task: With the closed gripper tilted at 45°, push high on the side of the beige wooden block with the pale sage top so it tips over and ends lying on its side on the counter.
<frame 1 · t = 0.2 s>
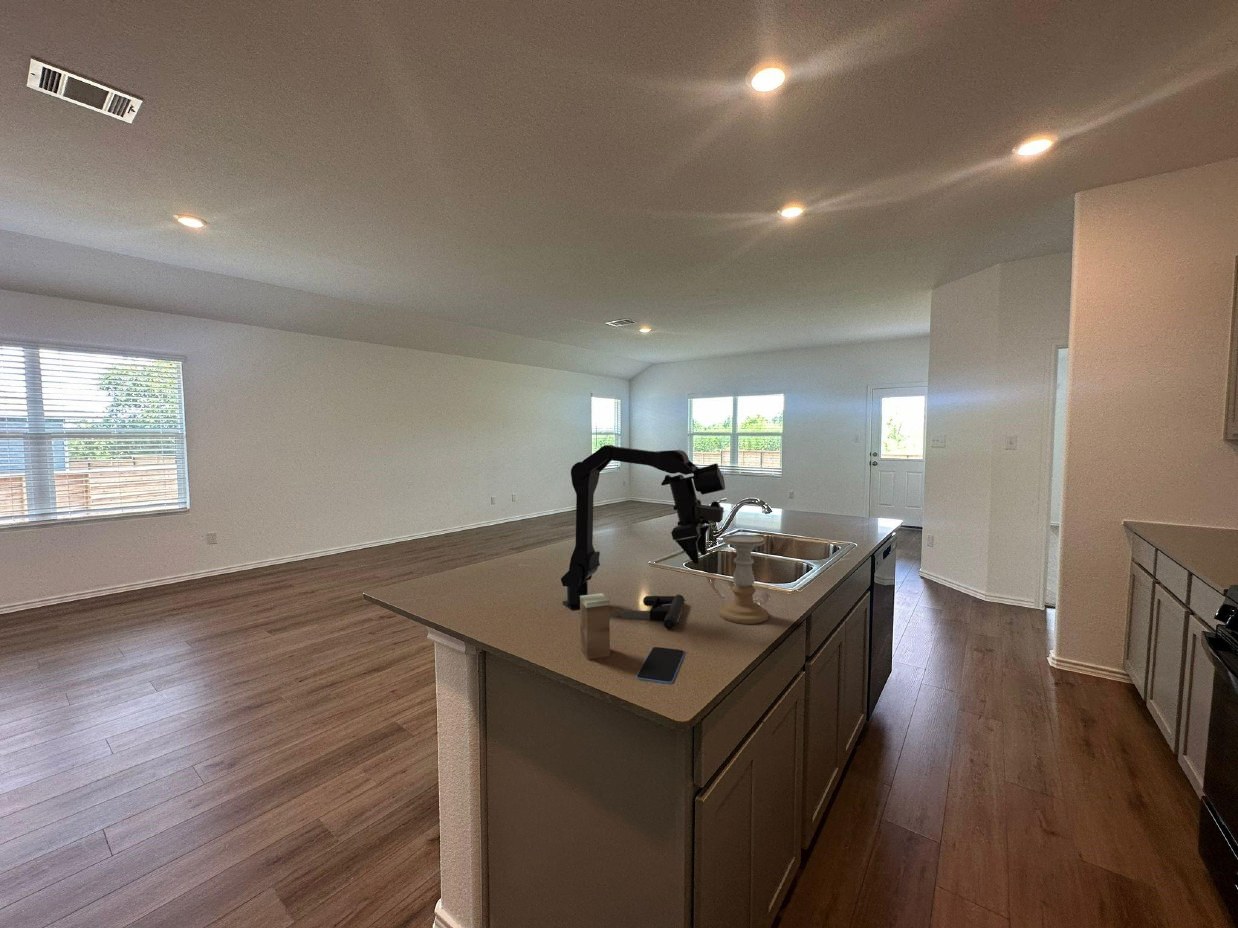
hand: (700, 559, 126), 15 cm above the worktop, tool pointing down, fingers open, 9 cm apart
smartphone: (661, 667, 102), on the worktop
candle holder: (743, 616, 129), on the worktop
beige wooden block: (595, 652, 108), on the worktop
door handle: (653, 616, 131), on the worktop
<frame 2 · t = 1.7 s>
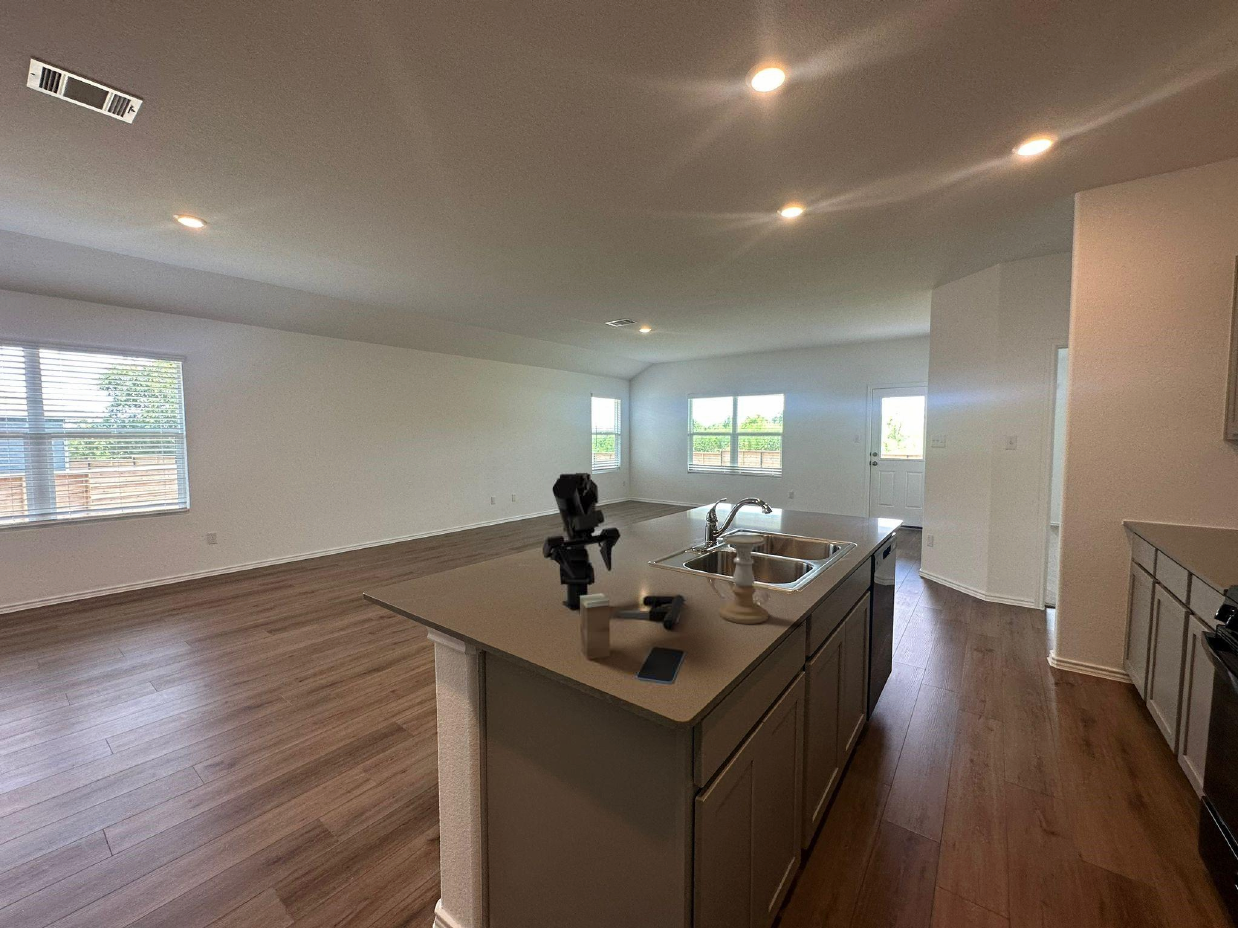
hand: (592, 573, 118), 14 cm above the worktop, tool tilted 40°, fingers open, 9 cm apart
nothing on the worktop moved.
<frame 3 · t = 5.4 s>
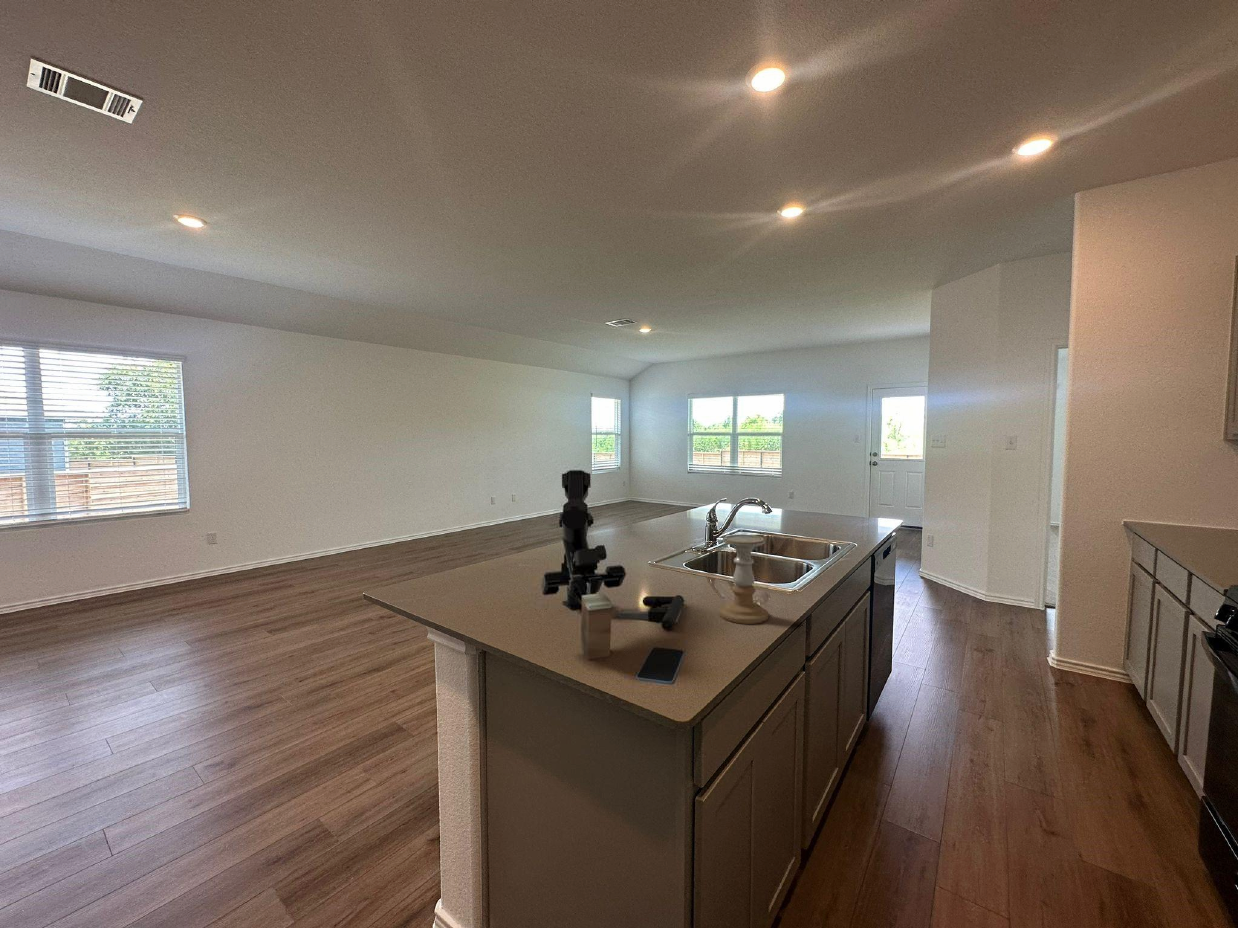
hand: (591, 613, 109), 8 cm above the worktop, tool tilted 45°, fingers closed
beige wooden block: (595, 651, 108), on the worktop, tilted 8°
everything else where it was.
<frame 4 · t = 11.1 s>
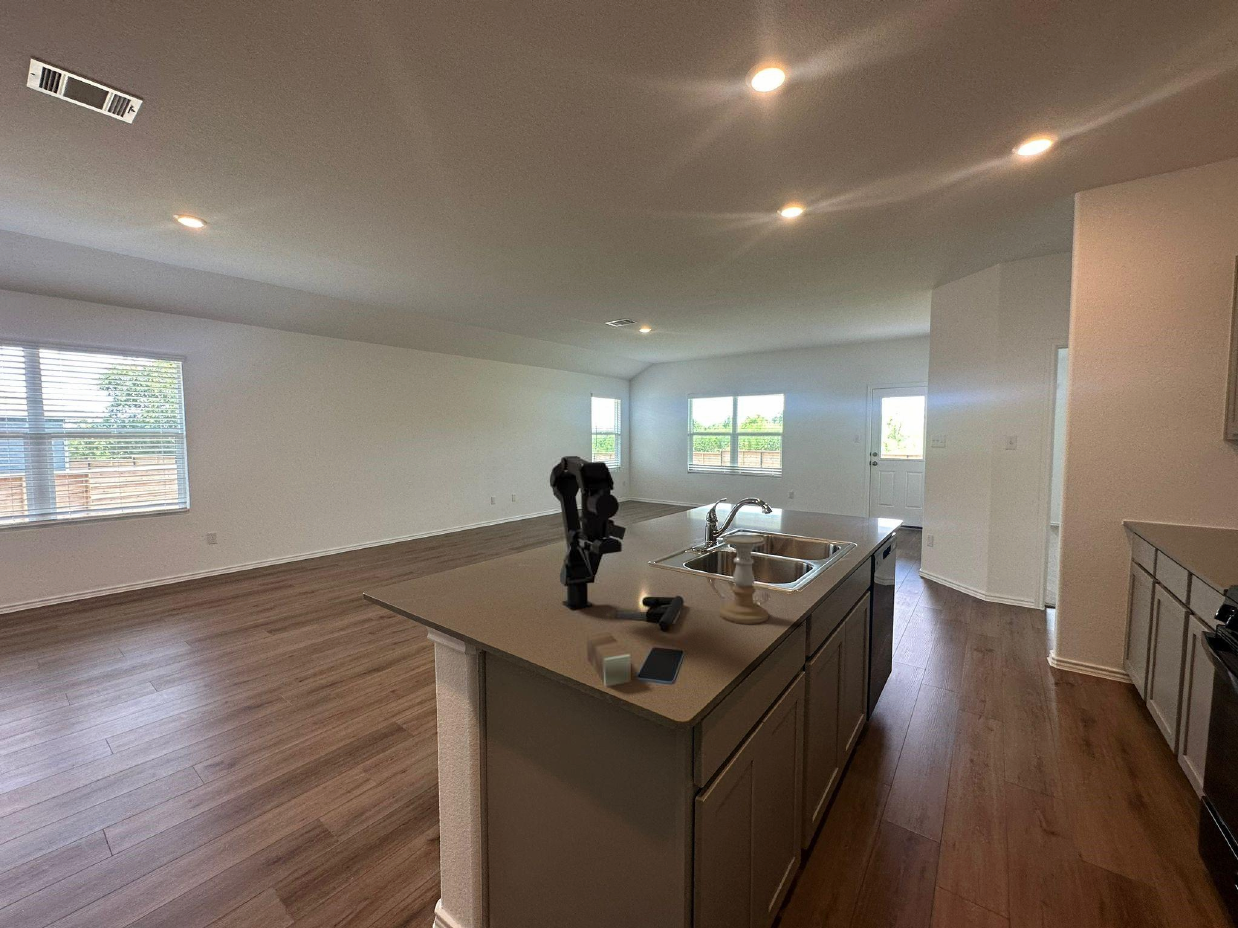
hand: (593, 574, 125), 12 cm above the worktop, tool pointing down, fingers closed
beige wooden block: (598, 646, 106), point 2 cm above the worktop, tilted 90°
at the end: beige wooden block tilted 90°; beige wooden block inside the target area (2.5 cm from its centre), point 2.4 cm above the worktop; the gripper is holding nothing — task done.
